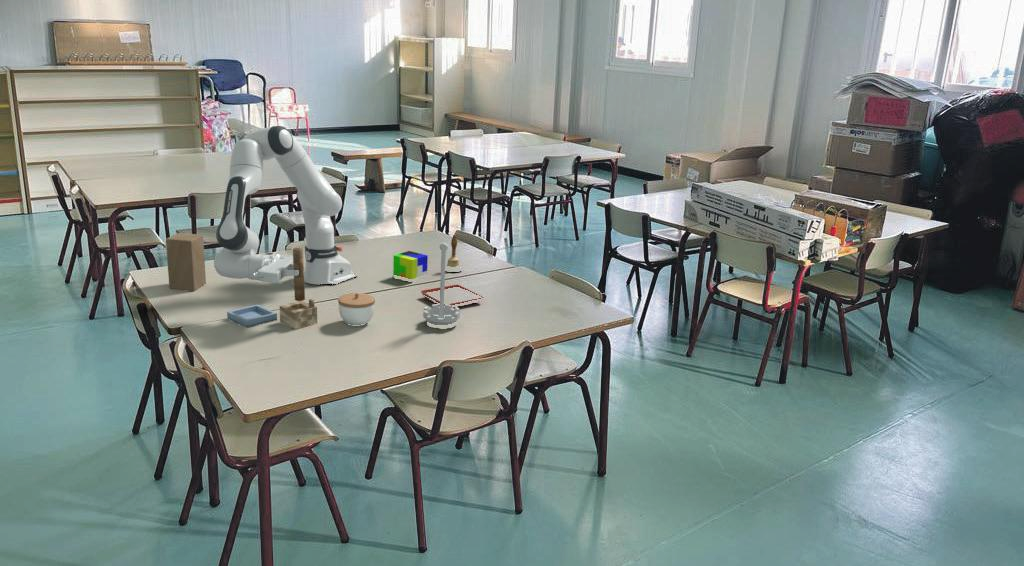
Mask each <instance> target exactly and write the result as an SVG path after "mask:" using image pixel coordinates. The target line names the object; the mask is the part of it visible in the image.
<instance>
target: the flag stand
mask: <svg viewBox="0 0 1024 566" xmlns="http://www.w3.org/2000/svg"><path fill="white" fill-rule="evenodd" d="M439 249H440V251H441V253H440V254H441V258H440V285H439V286H440V306H439V304H435V303H432V304H431V307H430V306H428V305H427V306H425V307H423V312H422V317H423V318H424V319H425V322H426V321H427V322H429V323H431V324H434V325H448V324H452V323H454V322H456V321H457V322H458V320H459V319H460V317H461V313H460V312H461V311H460V307H455V308H452V305H448V304H445V307H444V290H445V285H446V272H445V267H446V258H447V250H448V249H449V245H448V243H446V242H441V243H440V244H439ZM444 315H445V318H444Z"/></svg>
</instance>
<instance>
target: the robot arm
mask: <svg viewBox="0 0 1024 566" xmlns="http://www.w3.org/2000/svg"><path fill="white" fill-rule="evenodd" d="M271 159H275V160H276V161H277V163H278V165H279V166H280V168H281V170H282V171H283V173H284V174H285V176H286V177H287V178H288V180H289V181H290V183H291V184H292V185H293V187H295V189H296V190H297V192H296V193H297V194H296V196H297V197H296V198H297V199H298V201H299V204H300V209H301V212H302V213H301V214H302V217H303V222H304V227H305V246H304V257H305V262H304V263H305V264H304V283H306V284H310V285H320V284H321V285H322V284H332V285H331V286H334V285H333V284H336V285H339V284H341V283H340V282H342V281H345V280H347V279H349V278H351V277H354V276H355V275H354V274H352V273H354V271H353V270H352V264H351V263H350V262H349V260H347V259H346V258H344V257H343V256H341V255H340V254H339V252H340V253H341V252H343V247H342V246H339V245H335V229H334V224H333V222H332V219H331V217H334V216H337V214H339V212H340V211H341V210H342V207H343V201H342V197H341V196H340V195H339V194H338V193H337V192H336V190H335V189H334V188H333V187H332V185H331V184H330V183H329V181H328V180H327V179H326V178H325V176H323V174H322V173H321V172H320V171H319V170H318V168H317V167H316V165H315V164H314V162H313V161H312V159H311V158H310V156H309V155H308V153H307V152H306V150H305V149H304V147H303V146H302V144H301V143H300V142H299V141H298V139H296V137H295V135H293V134H292V133H291V132H290V130H289V129H287V128H286V127H285V126H283V125H282V126H281V125H273V126H271V127H263V128H259V129H257V130H256V131H252V132H249V133H245V134H244V135H242V136H241V137H239V138H238V140H237V141H236V142H235V143H234V145H233V149H232V152H231V157H230V165H229V178H228V183H227V187H226V191H225V197H224V205H223V212H222V217H221V220H220V222H219V224H218V226H217V228H216V232H215V237H216V241H217V242H218V244H219V245H220V246H221V247H222V249H221V250H220V251H219V252H218V253H216V254H215V256H214V258H213V266H214V269H215V271H216V272H217V274H218V275H219V276H222V277H224V278H228V279H229V278H230V279H237V280H238V279H239V280H240V279H241V280H243V279H248V280H253V281H259V282H264V283H270V284H271V283H272V284H274V283H275V284H277V283H279V282H280V281H282V280H283V278H285V277H291V276H293V277H294V276H298V275H299V274H300V273H299V270H298V269H294V268H293V255H291V254H281V253H278V254H276V252H270V251H269V252H267V253H266V252H265V253H263V254H262V253H261V254H258V251H259V247H260V238H259V236H258V234H257V233H256V232H255V231H254V230H252V229H251V228H249V227H247V226H246V224H245V222H244V210H245V201H246V198H247V196H249V195H253V194H255V193H257V192H258V191H259V190H260V189H261V187H262V182H263V176H264V161H269V160H271ZM345 282H346V281H345ZM338 283H339V284H338ZM342 283H343V282H342ZM321 285H320V286H321Z"/></svg>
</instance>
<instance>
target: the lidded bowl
mask: <svg viewBox="0 0 1024 566" xmlns="http://www.w3.org/2000/svg"><path fill="white" fill-rule="evenodd" d="M337 300H338V301H337V302H338V309H339V310H338V312H339V315H340V318H341V319H342V320H343V321H344V322H345V324H346V323H347V324H350V325H361V324H365V323H367V324H368V322H370V321H371V319H372V318H373V317H374V314H375V313H374V311H375V306H376V305H375V304H376V303H375V302H376V297H374V296H373V295H372V294H368V293H363V292H351V293H345V294H342V295H340V296H339V297H338V299H337ZM347 324H346V325H347Z"/></svg>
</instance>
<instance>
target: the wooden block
mask: <svg viewBox="0 0 1024 566" xmlns="http://www.w3.org/2000/svg"><path fill="white" fill-rule="evenodd" d="M204 244H205V243H204V235H203V234H198V233H196V234H195V233H187V232H185V233H184V232H178V233H175V234H173V235H171V236H169V237H167V238H166V239H165V247H166V261H167V274H168V286H169V287H168V288H169V290H177V291H184V290H189V291H188V292H195V290H196V291H197V290H199V289H200V288H202V287H203V286H205V285H206V284H207V279H206V278H207V277H206V276H207V275H206V260H205V259H206V258H205V246H204ZM204 284H205V285H204ZM201 286H202V287H201ZM198 288H199V289H198Z"/></svg>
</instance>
